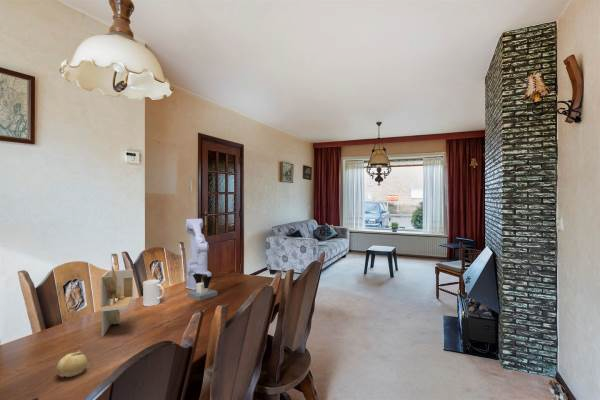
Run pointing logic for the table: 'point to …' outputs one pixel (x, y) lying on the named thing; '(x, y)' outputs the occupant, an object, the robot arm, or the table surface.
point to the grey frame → (115, 295)
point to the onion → (71, 364)
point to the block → (201, 288)
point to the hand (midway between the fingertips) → (202, 287)
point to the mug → (151, 292)
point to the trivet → (202, 296)
